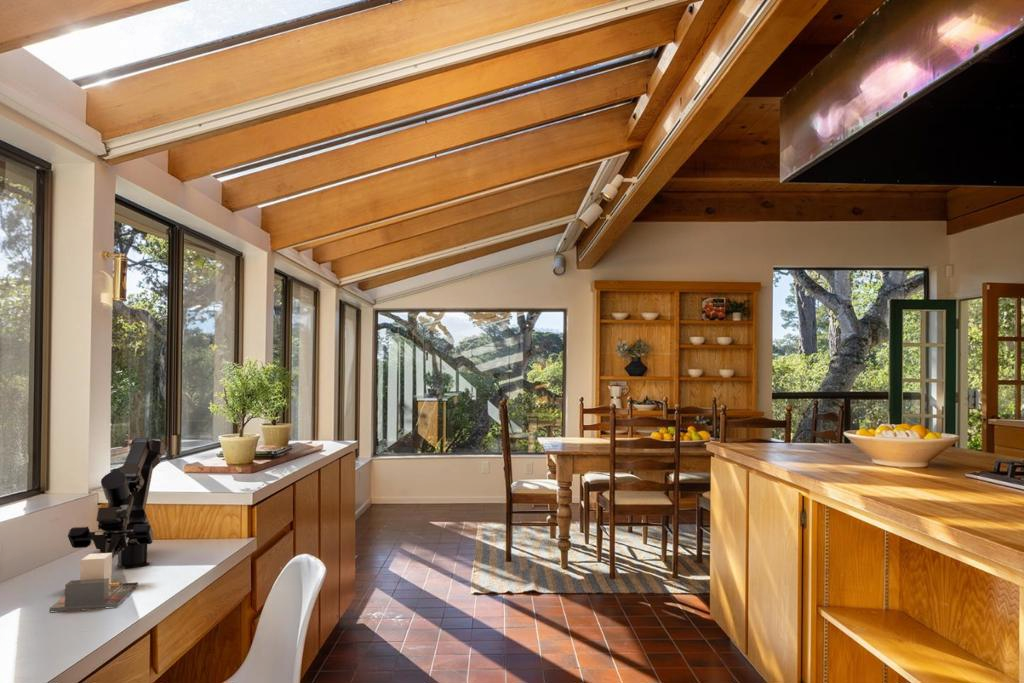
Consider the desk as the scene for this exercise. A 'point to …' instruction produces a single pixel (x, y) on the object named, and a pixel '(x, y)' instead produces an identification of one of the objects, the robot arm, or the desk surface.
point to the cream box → (97, 567)
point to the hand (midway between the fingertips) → (103, 565)
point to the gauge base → (93, 595)
